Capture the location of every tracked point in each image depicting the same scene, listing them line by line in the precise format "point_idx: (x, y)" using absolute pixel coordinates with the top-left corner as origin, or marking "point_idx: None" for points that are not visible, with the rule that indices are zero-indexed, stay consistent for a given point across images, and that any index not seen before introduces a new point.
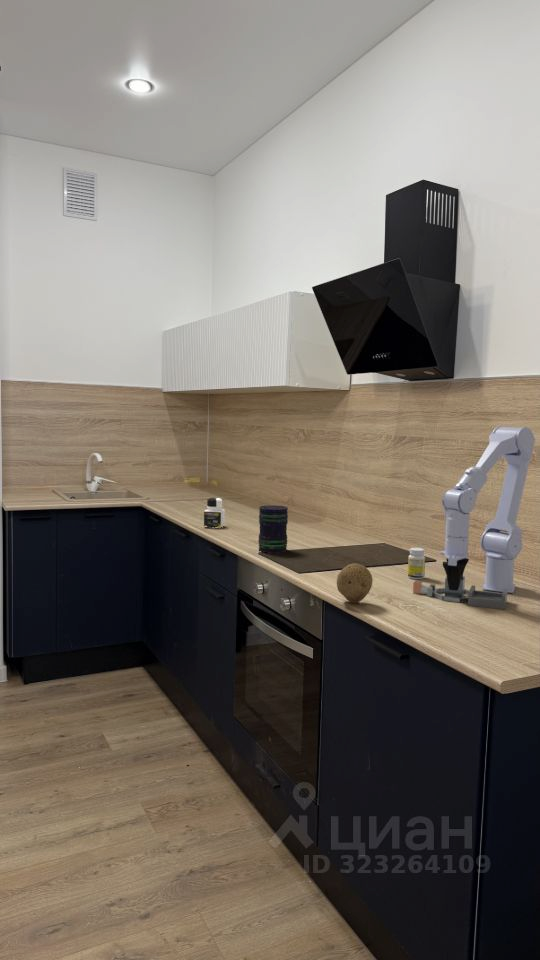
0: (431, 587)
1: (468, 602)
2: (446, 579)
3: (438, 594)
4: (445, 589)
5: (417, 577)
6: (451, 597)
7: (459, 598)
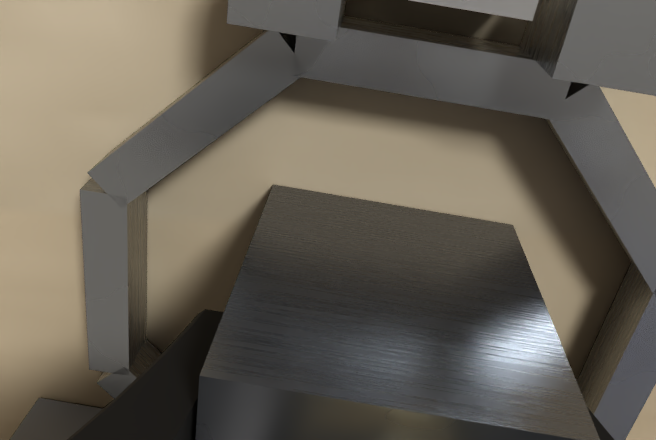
0: (450, 6)
1: (21, 425)
2: (201, 384)
3: (183, 119)
4: (248, 254)
5: None
6: (89, 284)
7: (90, 365)
